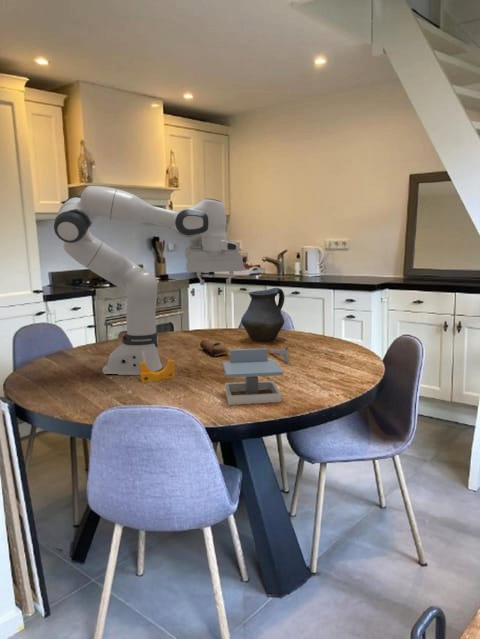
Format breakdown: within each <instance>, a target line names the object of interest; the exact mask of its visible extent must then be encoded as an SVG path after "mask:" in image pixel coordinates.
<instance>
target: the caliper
mask: <svg viewBox="0 0 480 639" xmlns="http://www.w3.org/2000/svg"><path fill="white" fill-rule="evenodd" d="M268 352H269V353H270V354H278V355H280V357H283V362H284V363H286V364H288V363H289V362H290V352H289V347H288V346H284V348H281V349H274V348H271V349H269V351H268Z"/></svg>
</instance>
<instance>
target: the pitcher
mask: <svg viewBox="0 0 480 639" xmlns="http://www.w3.org/2000/svg"><path fill="white" fill-rule="evenodd" d="M248 294H249V296H250V298H251V299H250V302H249V305H248V308H247V309H246V311H245V312H244V314H243V315H242V317H241V321H240V322H241V324H242V327H244V329H245V331H246V333H247V335H248V337H249V339H250V340H251V341H252V342H253V341H254V342H259V343H260V342H261V343H262V342H263V343H264V342H272V341H275V340H276V339H277V337H278V336H279V334H280V332H281V330H282V329H283V327H284V325H285V319H284V316H283V314H282V312H281V311H282V308H283V306H284V303H285V292H284V291H283V289H282V288H280V287H273V288H272V287H271V288H269V289H264V290H255V291H250V292H248ZM277 295H278V302H276V297H277Z"/></svg>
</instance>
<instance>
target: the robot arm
mask: <svg viewBox="0 0 480 639" xmlns="http://www.w3.org/2000/svg"><path fill="white" fill-rule="evenodd" d="M97 219H98V220H99V219H100V220H105V221H108V222H112V223H113V222H114V223H119V224H143V223H144V224H153V225H157V226H160V227H165V228H168V229H171V230H173V231H175V232H176V233H177V234H179V235H180V236H181V237H185V238H193V237H195V236H197V235H201V245H190V246H188V247H186V249H185V251H184V252H185V253H184V256H185V258H186V259H187V260H186V271H187V272H188V273H196V277H197V278H198V279H199V284H200V285H199V286H204V285H205V279H202V277H201V274H202V273H212V272H213V273H215V272H219V273H220V272H221V273H222V272H229V273H228V274H229V277H228V278H226V279H225V280H226V285H231V282H232V278H233V276H234V272H242V271H243V270H244V261H243V256H242V253H241V252H240V251H239V250H240V245H239V244H238V243H235V242H233V241H230V240H229V241H228V239H227V238H228V237H227V233H226V227H227V214H226V207H225V204H224V202H222V201H220V200H219V199H215V198H214V199H213V198H203V199H202V200H201V201H199V202H198V203H196V204H194V205H192V206H190V207H187V208H185V209H182V210H178V211H177V210H171V209H167V208H162V207H159V206H154V205H152V204H149V203H147V202H146V201H144V200H143V199H141V198H140V197H138V196H137V195H135V194H133V193H131V192H129V191H125V190H122V189H118V188H113V187H109V186H103V185H102V186H100V185H89V186H87V187H85V188H84V190H82V192H81V194H75V195H72V196H70V197H69V198H67V199H66V200H65V202H64V203H63V204H62V206H61V207H60V208H59V210H58V214H57V216H56V218H54V222H53V230H54V233H55V235H56V236H57V238H58V239H60V240H61V241H62V242H63V249H64V251H65V253H66V254H68V255H69V257H71V258H72V259H74V261H76V262H77V263H78V264H80V265H82V266H83V267H84V268H86V269H88V270H89V271H91V272H92V273H95V274H96V275H98V276H99V277H101V278H102V279H104V280H106V281H107V282H108V283H111V284H112V285H114V286H116V288H119V289H121V290H122V291H124V292H126V312H125V319H126V321H125V322H126V332H123V333H122V334H121V343H122V344H120V345H119V346H118V347H116V348H115V349H114V350H113V351H112V352H111V353H110V355H109V356H108V361H107V364H105V365H104V366H103V367H102V371H101V372H103V373H104V374H103V373H102V374H103V375H105V374H118V375H117V376H140V362H146V366H147V368H148V369H149V370H151V371H154V372H159V371H161V370H162V368H163V365H162V363H161V359H160V356H159V350H158V349H159V348H158V346H159V335H158V332H157V324H156V323H157V318H156V311H157V310H156V309H157V307H156V306H157V301H158V300H157V299H158V298H157V297H158V280H157V278H156V276H155V275H154V273H153V272H151V271H150V270H148V269H145V268H143V267H141V266H139V265H138V264H136V263H135V262H134V261H132V260H131V259H129V258H127V257H126V256H124V254H122V253H120V252H119V251H117V249H114V248H113V247H111V246H110V245H108V244H107V243H106V242H104V241H102V240H100V239H99V238H97V237H96V236H94V235H93V233H91V231H90V228H91V227H92V224H93V221H95V220H97Z"/></svg>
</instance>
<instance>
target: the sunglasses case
mask: <svg viewBox="0 0 480 639" xmlns="http://www.w3.org/2000/svg"><path fill="white" fill-rule="evenodd" d="M199 346H200V348H201V349H203V350H205V351H207V352H208V353H210V354H211V355H212V356H214V357H218V356H221V355H224V354H227V353H230V349H228V348H227V347H226V346H225V345H223V344H222V343H221V342H220V341H217V340H212V339H211V340H210V339H202V340H201V341H200V344H199Z"/></svg>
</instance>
